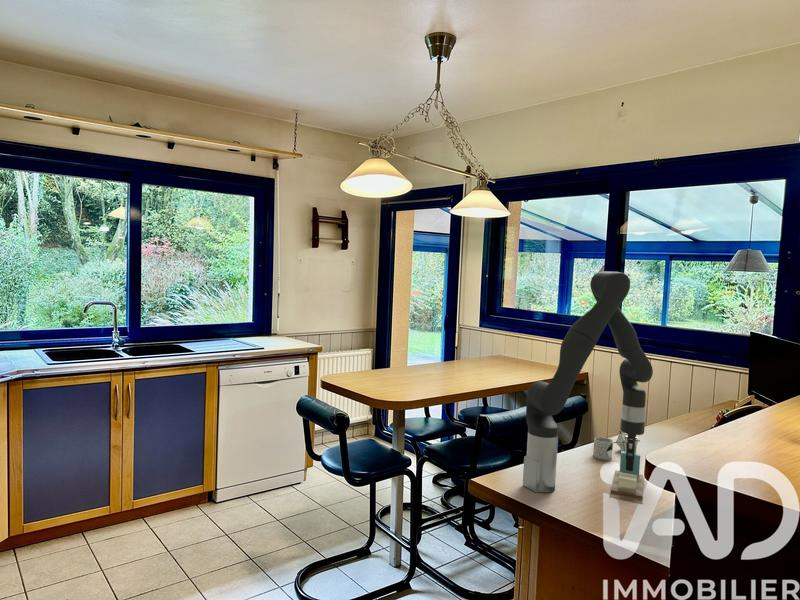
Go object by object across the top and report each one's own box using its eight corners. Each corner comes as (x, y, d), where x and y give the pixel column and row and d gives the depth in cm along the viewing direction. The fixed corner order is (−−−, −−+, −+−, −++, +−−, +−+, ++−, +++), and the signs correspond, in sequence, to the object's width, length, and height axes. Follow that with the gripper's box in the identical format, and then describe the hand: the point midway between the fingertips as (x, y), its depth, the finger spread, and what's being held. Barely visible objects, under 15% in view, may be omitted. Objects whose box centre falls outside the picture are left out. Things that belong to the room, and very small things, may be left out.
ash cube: (635, 497, 157) (636, 480, 157) (617, 493, 159) (618, 477, 159) (636, 491, 162) (637, 475, 162) (618, 487, 164) (619, 472, 164)
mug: (610, 461, 192) (611, 443, 192) (591, 457, 196) (592, 440, 195) (614, 454, 201) (615, 437, 201) (596, 450, 204) (597, 433, 204)
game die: (630, 462, 203) (643, 447, 197) (609, 452, 205) (622, 437, 199) (631, 445, 210) (644, 430, 204) (610, 436, 212) (623, 421, 206)
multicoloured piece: (642, 507, 152) (644, 480, 152) (609, 500, 156) (610, 474, 156) (643, 478, 176) (645, 455, 175) (615, 472, 180) (616, 450, 179)
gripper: (644, 425, 168) (641, 477, 169) (645, 415, 181) (642, 463, 182) (619, 421, 171) (616, 472, 172) (622, 412, 184) (619, 459, 185)
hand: (629, 467), depth 177 cm, fingers open, 5 cm apart
